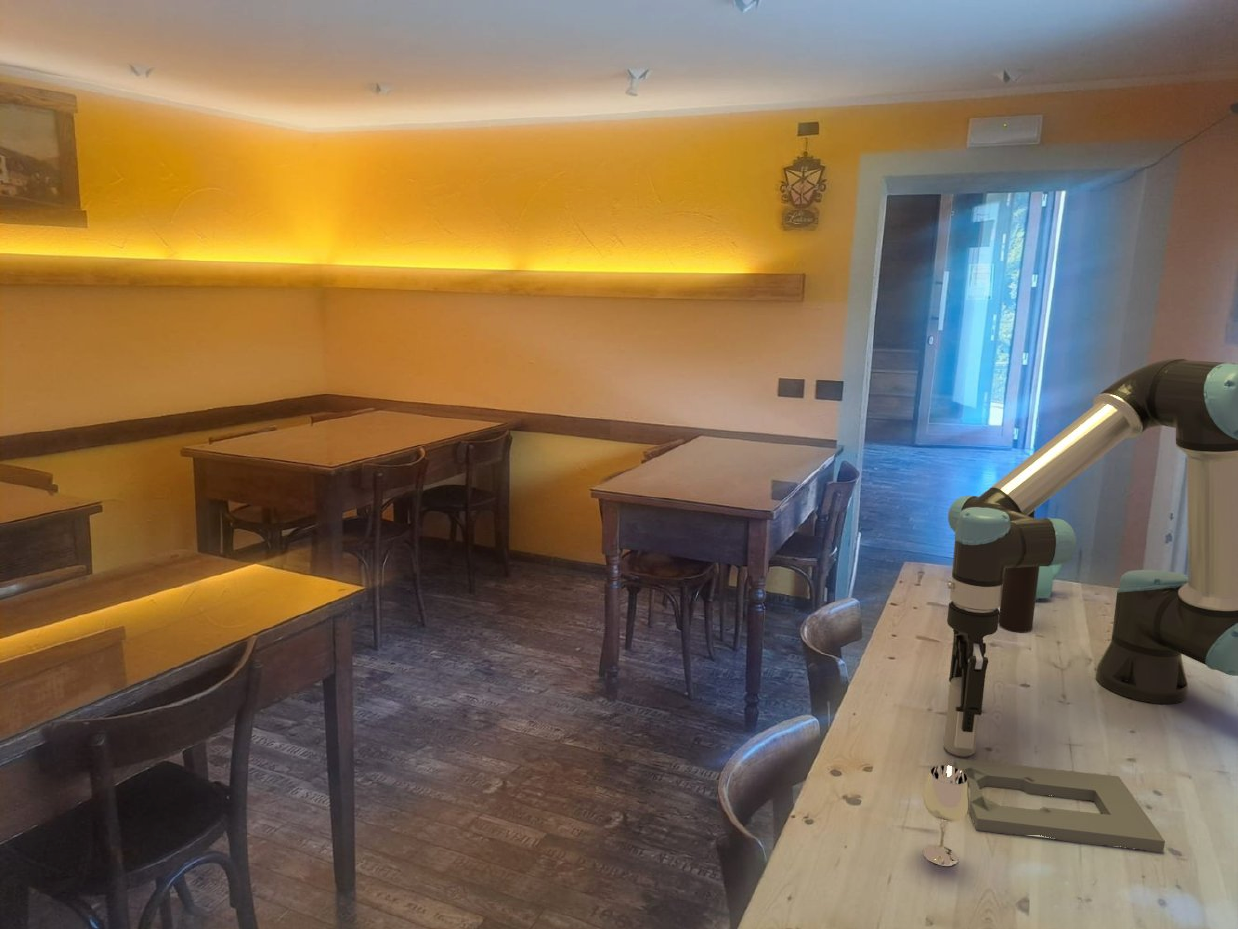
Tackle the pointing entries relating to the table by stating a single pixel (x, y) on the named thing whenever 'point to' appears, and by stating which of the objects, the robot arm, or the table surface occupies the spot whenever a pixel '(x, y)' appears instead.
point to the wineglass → (945, 806)
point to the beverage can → (955, 720)
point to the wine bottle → (1018, 597)
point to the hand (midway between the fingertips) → (960, 738)
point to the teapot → (1046, 580)
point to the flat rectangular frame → (1109, 793)
